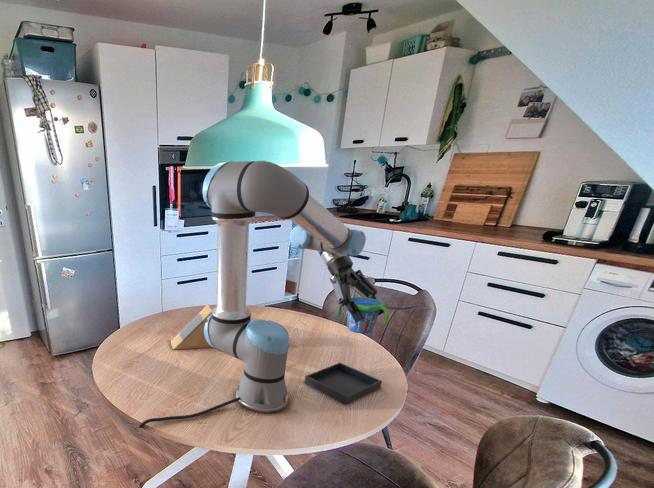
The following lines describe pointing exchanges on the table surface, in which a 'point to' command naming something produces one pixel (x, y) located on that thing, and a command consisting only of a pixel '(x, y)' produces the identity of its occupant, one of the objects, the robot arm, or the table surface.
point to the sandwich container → (193, 332)
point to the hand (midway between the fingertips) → (370, 317)
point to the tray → (343, 382)
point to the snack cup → (365, 314)
